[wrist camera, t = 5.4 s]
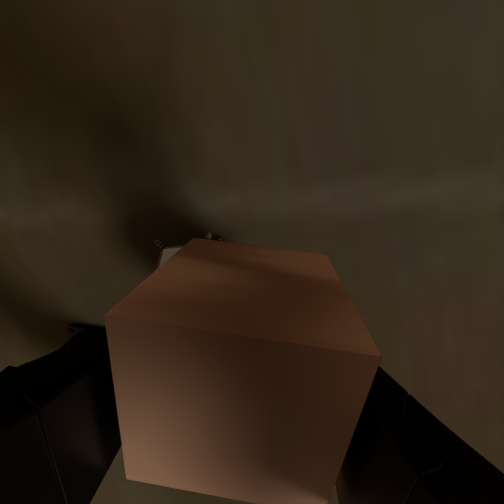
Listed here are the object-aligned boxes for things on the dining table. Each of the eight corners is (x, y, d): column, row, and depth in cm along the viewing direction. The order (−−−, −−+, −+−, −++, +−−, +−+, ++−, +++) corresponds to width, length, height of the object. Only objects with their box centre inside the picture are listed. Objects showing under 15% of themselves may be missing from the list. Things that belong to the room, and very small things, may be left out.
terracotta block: (191, 343, 11) (126, 478, 6) (193, 237, 9) (103, 315, 4) (302, 360, 11) (323, 516, 6) (326, 254, 9) (381, 356, 4)
